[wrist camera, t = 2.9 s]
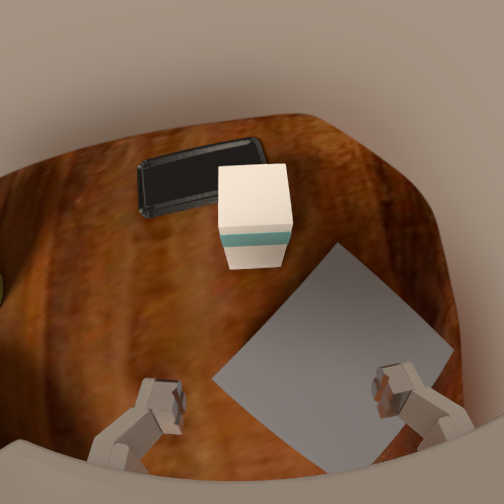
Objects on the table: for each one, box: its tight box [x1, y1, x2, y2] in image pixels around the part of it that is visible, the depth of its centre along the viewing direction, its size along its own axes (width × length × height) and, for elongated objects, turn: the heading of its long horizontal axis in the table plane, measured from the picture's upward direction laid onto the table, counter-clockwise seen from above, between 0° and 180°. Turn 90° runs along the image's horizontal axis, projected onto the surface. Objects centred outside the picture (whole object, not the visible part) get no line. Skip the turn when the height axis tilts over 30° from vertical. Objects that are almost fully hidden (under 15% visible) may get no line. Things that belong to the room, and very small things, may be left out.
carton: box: [218, 164, 293, 269], centre depth 25 cm, size 5×5×10 cm
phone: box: [137, 137, 267, 218], centre depth 33 cm, size 8×1×15 cm
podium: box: [212, 242, 454, 474], centre depth 24 cm, size 15×15×5 cm
